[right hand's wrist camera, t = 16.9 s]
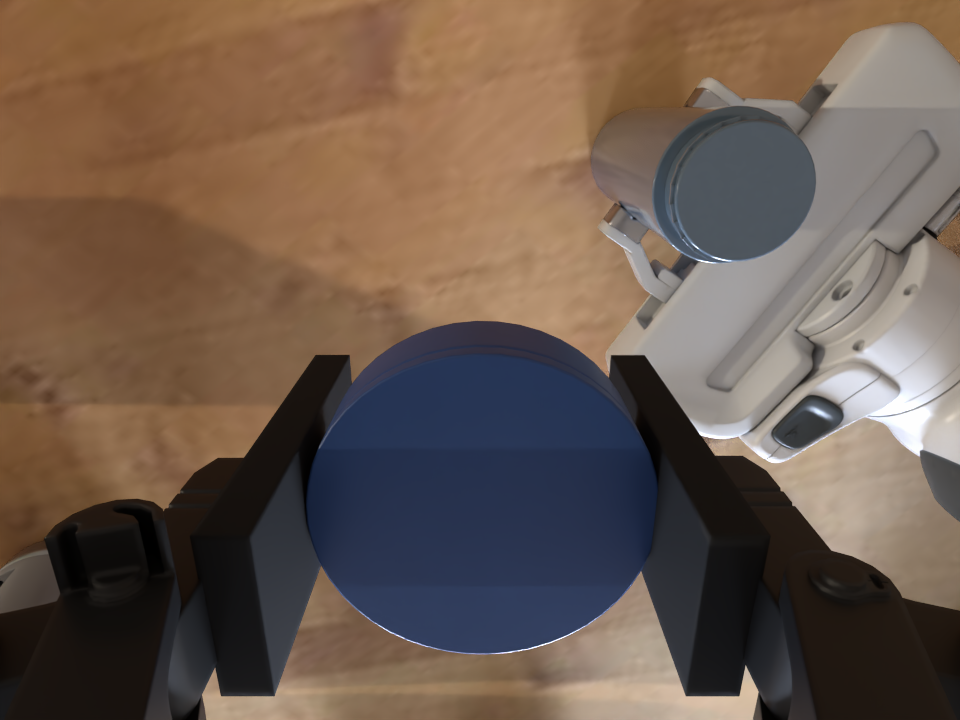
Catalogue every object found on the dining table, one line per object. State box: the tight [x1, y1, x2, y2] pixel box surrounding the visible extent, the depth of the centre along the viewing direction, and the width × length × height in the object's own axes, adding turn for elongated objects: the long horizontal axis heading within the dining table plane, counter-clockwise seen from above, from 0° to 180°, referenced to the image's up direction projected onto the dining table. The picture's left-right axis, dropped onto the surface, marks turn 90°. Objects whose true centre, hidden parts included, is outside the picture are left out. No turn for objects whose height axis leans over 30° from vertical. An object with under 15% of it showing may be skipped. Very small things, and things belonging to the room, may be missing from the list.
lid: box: [306, 321, 658, 654], centre depth 11 cm, size 6×6×2 cm
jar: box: [591, 106, 816, 264], centre depth 28 cm, size 5×5×16 cm
